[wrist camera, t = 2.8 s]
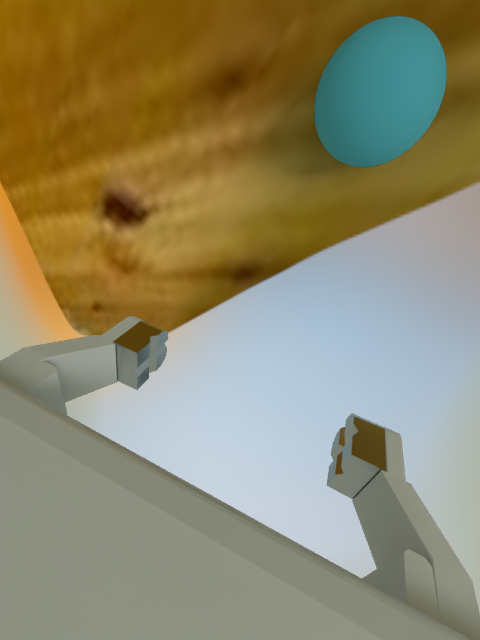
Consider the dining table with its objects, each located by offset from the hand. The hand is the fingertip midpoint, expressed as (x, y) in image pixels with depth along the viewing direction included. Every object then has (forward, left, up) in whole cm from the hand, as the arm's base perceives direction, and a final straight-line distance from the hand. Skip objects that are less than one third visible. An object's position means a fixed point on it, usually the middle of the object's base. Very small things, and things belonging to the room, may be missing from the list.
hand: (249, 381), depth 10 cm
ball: (0, -9, -12) cm, 15 cm away
